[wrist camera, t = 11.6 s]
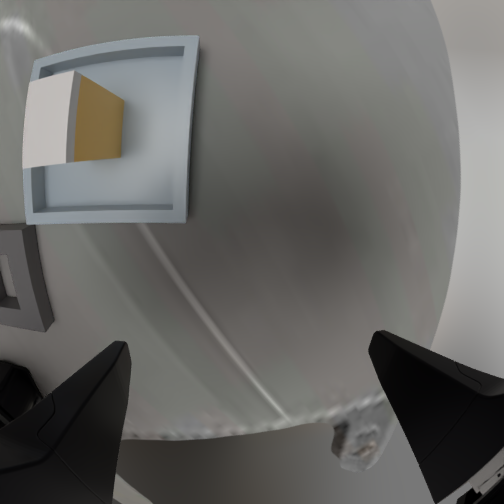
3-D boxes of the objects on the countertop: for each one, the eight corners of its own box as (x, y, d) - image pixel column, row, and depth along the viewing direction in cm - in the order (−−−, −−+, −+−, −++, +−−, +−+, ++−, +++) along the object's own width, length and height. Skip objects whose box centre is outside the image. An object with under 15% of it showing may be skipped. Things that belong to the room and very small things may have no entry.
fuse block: (54, 320, 20) (45, 332, 18) (-2, 311, 18) (-11, 321, 17) (34, 223, 17) (21, 229, 15) (-22, 225, 16) (-34, 232, 14)
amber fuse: (120, 157, 16) (66, 163, 9) (88, 160, 16) (22, 168, 8) (124, 100, 15) (74, 70, 8) (91, 104, 15) (29, 82, 7)
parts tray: (188, 214, 19) (185, 223, 17) (42, 216, 17) (26, 224, 15) (199, 49, 15) (199, 35, 13) (50, 67, 13) (34, 60, 11)
